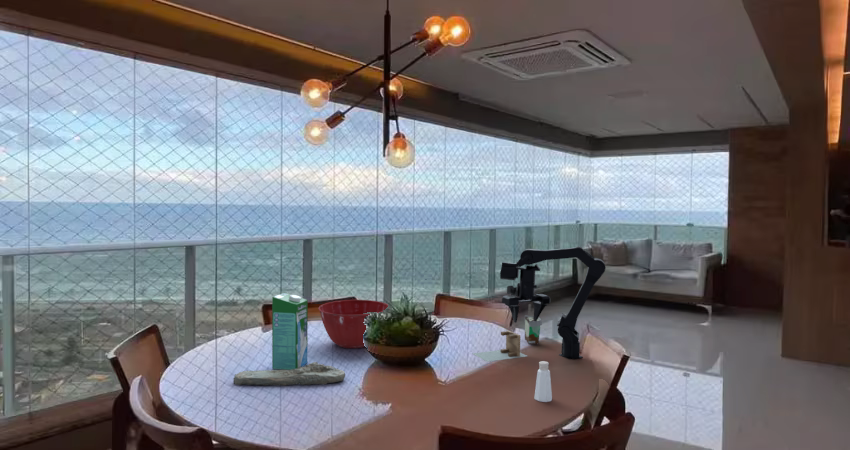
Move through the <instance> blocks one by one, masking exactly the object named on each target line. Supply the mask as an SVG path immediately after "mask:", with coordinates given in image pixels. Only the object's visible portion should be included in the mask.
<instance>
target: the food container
mask: <svg viewBox="0 0 850 450" xmlns="http://www.w3.org/2000/svg"><path fill="white" fill-rule="evenodd" d="M542 325H543V321H542V319H541V318H540V316H539V317H538V319H537V321H534V315H524V340H525V341H526V343H527V344H528V345H538V344H539V342H540V334H541V326H542Z"/></svg>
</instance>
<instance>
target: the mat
mask: <svg viewBox="0 0 850 450" xmlns="http://www.w3.org/2000/svg"><path fill="white" fill-rule="evenodd" d="M508 353H509V352H508ZM508 353H501V349H499V350H498V349H497V350H491V351H482V352H473V353H472V355H473V356H476V357H478V358H480V359H481V360H482V361H485V362H486V363H487V362H494V361H503V360H510V359H517V358H525V357H528V355H526V354H524V353H522V352H520V356H513V357H509V356H508Z"/></svg>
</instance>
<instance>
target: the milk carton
mask: <svg viewBox="0 0 850 450" xmlns="http://www.w3.org/2000/svg"><path fill="white" fill-rule="evenodd" d="M271 300H272V301H271V303H272V305H271V308H272V309H271V310H272V317H271V318H272V320H271V321H272V323H271V324H272V325H271V326H272V327H271V329H272V330H271V331H272V332H271V334H272V336H271V337H272V339H271V340H272V341H271V342H272V343H271V345H272V350H271V351H272V353H271V355H272V357H271V359H272V363H271V367H272V370H291V369H297V368H298V367H304V366H306V365H307V364H308V341H309V340H308V337H309V336H308V333H309V331H308V326H309V324H308V322H309V321H308V320H309V319H308V317H309V316H308V312H309V311H308V309H309V308H308V305H309V304H308V299H306V298H303V297H301V296H299V295H297V294H290V293H287V292H282V293H280V294H277V295H274V296H272V299H271Z"/></svg>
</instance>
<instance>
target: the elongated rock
mask: <svg viewBox="0 0 850 450" xmlns="http://www.w3.org/2000/svg"><path fill="white" fill-rule="evenodd" d="M345 378H346V372H345V371H344V370H342V369H338V368H335V367H334V366H333V365H325V364H323V363H319V362H317V361H313V362H311V363H307V364H305V365H304V366H302V367H298V368H297V369H291V370H283V369H272V370H270V369H268V370H244V371H240V372H238V373H235V374H234V377H233V379H232V380H233V381H232V382H233V384H235V385H236V386H237V385H238V386H241V385H242V386H243V385H247V386H248V385H249V386H251V385H252V386H265V387H267V386H276V387H277V386H290V385H291V386H293V385H303V386H310V385H327V384H330V383H333V384H334V383H337V382H338V383H339V382H343V381H344V380H345Z"/></svg>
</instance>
